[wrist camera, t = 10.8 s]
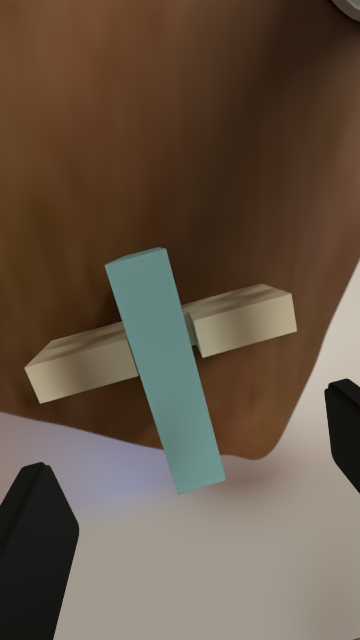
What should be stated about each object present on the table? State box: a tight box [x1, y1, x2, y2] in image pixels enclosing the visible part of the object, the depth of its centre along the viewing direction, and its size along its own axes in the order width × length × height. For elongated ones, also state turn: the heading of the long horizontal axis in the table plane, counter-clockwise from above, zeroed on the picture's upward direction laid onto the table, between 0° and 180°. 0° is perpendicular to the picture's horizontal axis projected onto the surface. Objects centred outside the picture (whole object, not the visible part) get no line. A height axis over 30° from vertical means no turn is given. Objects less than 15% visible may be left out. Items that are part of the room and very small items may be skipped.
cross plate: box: [105, 247, 226, 494], centre depth 21 cm, size 14×3×12 cm, turn 15°
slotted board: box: [25, 283, 297, 404], centre depth 24 cm, size 20×3×6 cm, turn 105°
